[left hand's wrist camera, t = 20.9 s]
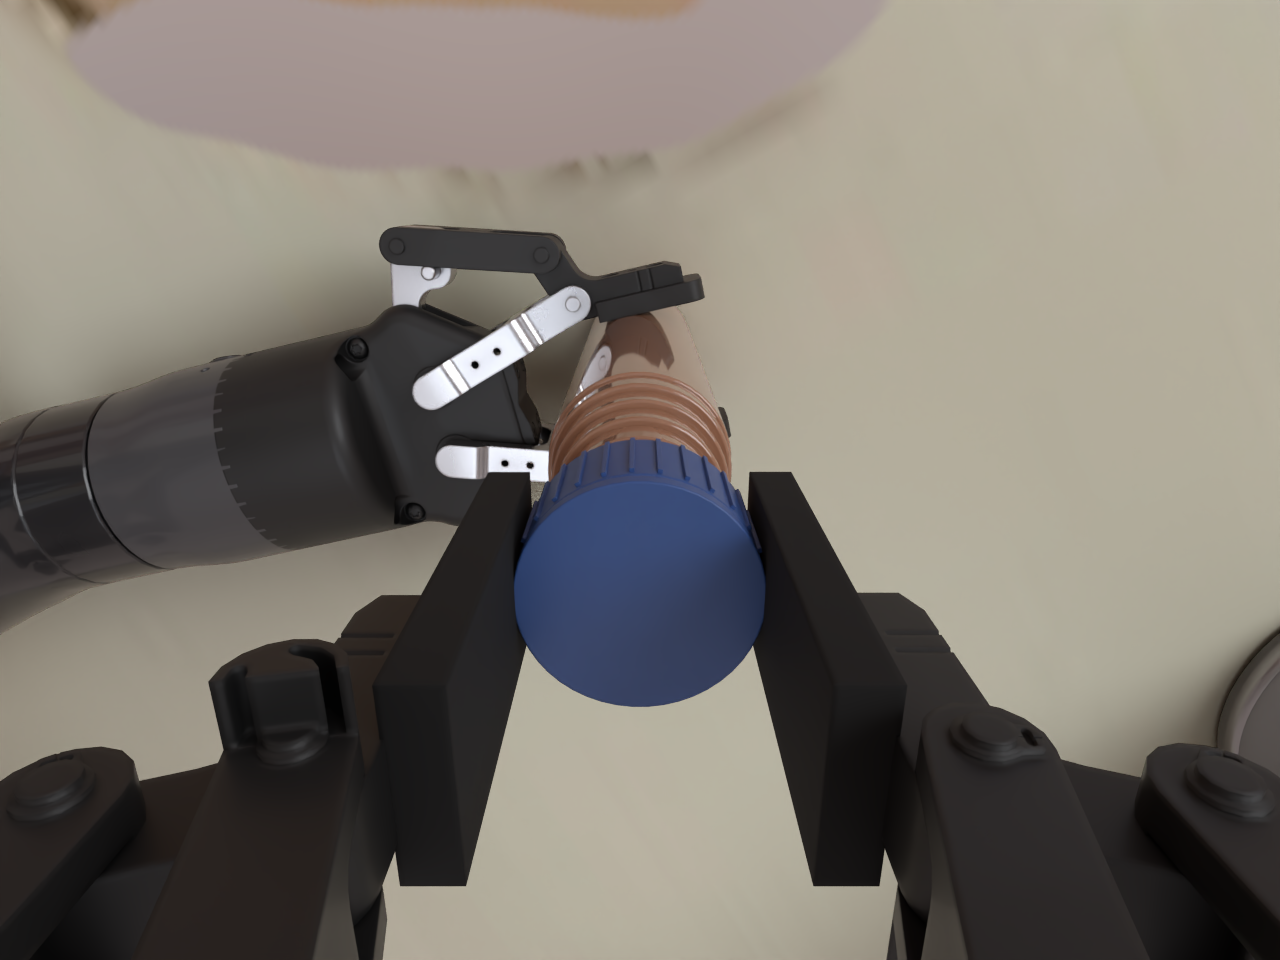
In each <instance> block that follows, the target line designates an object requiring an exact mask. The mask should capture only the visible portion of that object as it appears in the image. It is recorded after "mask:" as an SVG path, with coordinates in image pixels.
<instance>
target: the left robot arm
mask: <svg viewBox="0 0 1280 960" xmlns="http://www.w3.org/2000/svg"><path fill="white" fill-rule="evenodd" d="M531 510H532V502H531V483H530V472H488V474H487V475H486V477H485V479H484V481H483V483H482V485H481V486H480V488H479V490H478V492H477V494H476V496H475V497H474V499H473V501H472V503H471V505H470V507H469V508H468V510H467V512H466V514H465V516H464V518H463V519H462V521H461V523H460V525H459V527H458V529H457V530H456V532H455V534H454V536H453V538H452V540H451V541H450V543H449V545H448V547H447V549H446V551H445V552H444V554H443V556H442V558H441V560H440V562H439V563H438V565H437V567H436V569H435V571H434V573H433V574H432V576H431V578H430V580H429V582H428V584H427V585H426V587H425V589H424V591H423V593H422V595H381V596H380V597H378V598H377V599H375V600H374V601H372V602H371V603H369V604H368V605H366V606H365V607H363V608H362V609H361V610H359V611H358V612H356V613H355V614H354V616H353V617H352V619H351V620H350V622H349V623H348V625H347V626H346V627H345V629H344V630H343V632H342V633H341V638H338V639H337V641H336V642H335V644H334V643H330V642H326V641H322V640H318V639H293V640H287V641H282V642H277V643H272V644H267V645H264V646H262V647H259V648H256V649H254V650H251V651H248V652H246V653H243V654H241V655H240V656H238V657H236V658H235V659H233V660H232V661H230V662H228V663H227V664H225V665H224V666H222V667H221V668H220V669H219V670H218V671H217V672H216V674H215V675H214V676H213V677H212V678H211V679H210V680H209V687H210V691H211V696H212V700H213V705H214V709H215V713H216V718H217V722H218V727H219V731H220V736H221V740H222V744H223V749H224V751H223V753H222V755H221V758H220V760H219V762H218V763H216V764H213V765H209V766H205V767H202V768H198V769H194V770H189V771H185V772H180V773H175V774H171V775H166V776H161V777H156V778H152V779H147V780H142V781H139V779H138V775H137V772H136V768H135V764H134V761H133V760H132V759H131V758H130V757H129V756H128V755H127V754H125V753H124V752H123V751H122V750H117V749H111V748H106V747H93V748H83V749H74V750H70V751H65V752H61V753H60V754H54V755H51V756H48V757H45V758H42V759H40V760H38V761H37V762H34V763H32V764H30V765H28V766H26V767H24V768H22V769H20V770H17V771H15V772H13V773H12V774H10V775H9V776H7V777H6V778H5V779H3V780H2V781H0V960H382V959H383V951H384V942H385V933H386V924H387V915H386V907H385V900H384V893H383V887H382V885H383V882H384V879H385V877H386V874H387V871H388V869H389V866H390V863H391V861H392V858H393V855H394V853H396V860H397V867H398V874H399V882H400V886H466V884H467V880H468V876H469V872H470V868H471V864H472V860H473V856H474V852H475V848H476V844H477V840H478V836H479V832H480V828H481V824H482V820H483V816H484V812H485V808H486V804H487V800H488V796H489V792H490V788H491V784H492V780H493V776H494V772H495V768H496V765H497V761H498V757H499V753H500V749H501V745H502V741H503V737H504V733H505V729H506V725H507V721H508V717H509V713H510V709H511V705H512V701H513V697H514V693H515V689H516V685H517V681H518V677H519V673H520V669H521V665H522V661H523V657H524V653H525V649H526V643H525V641H524V639H523V637H522V635H521V633H520V630H519V627H518V625H517V622H516V611H515V596H514V574H515V570H516V565H517V562H518V559H519V556H520V553H521V550H522V547H523V544H524V543H522V542H521V539H522V536H523V533H524V530H525V527H526V524H527V522H528V519H529V516H530V513H531ZM748 511H749V513H750V516H751V519H752V522H753V525H754V528H755V531H756V534H757V537H758V540H759V542H760V545H761V548H762V551H763V552H762V553H759V555H760V557H761V560H762V564H763V568H764V572H765V576H766V587H765V604H764V618H763V623H762V626H761V629H760V632H759V634H758V636H757V638H756V640H755V642H754V644H753V647H754V651H755V655H756V659H757V663H758V667H759V671H760V675H761V679H762V683H763V687H764V691H765V695H766V699H767V703H768V707H769V711H770V715H771V719H772V723H773V727H774V731H775V735H776V739H777V743H778V747H779V751H780V754H781V758H782V762H783V766H784V770H785V774H786V778H787V782H788V786H789V790H790V794H791V798H792V802H793V806H794V810H795V814H796V818H797V822H798V826H799V830H800V834H801V838H802V842H803V846H804V850H805V854H806V858H807V862H808V866H809V870H810V874H811V878H812V882H813V886H879V885H880V878H881V871H882V864H883V856H884V849H885V850H886V853H887V855H888V858H889V861H890V863H891V866H892V869H893V871H894V874H895V877H896V879H897V882H898V887H897V893H896V900H895V907H894V913H893V920H892V926H891V933H890V940H889V946H888V953H887V960H1280V633H1279V634H1278V635H1277V636H1276V637H1274V638H1273V639H1272V640H1271V641H1270V642H1269V643H1268V644H1267V645H1266V646H1264V648H1263V649H1262V650H1261V651H1260V652H1259V653H1258V654H1257V655H1256V656H1255V657H1254V658H1253V659H1252V661H1251V662H1250V663H1249V664H1248V665H1247V667H1246V668H1245V669H1244V671H1243V672H1242V674H1241V675H1240V676H1239V678H1238V679H1237V681H1236V683H1235V684H1234V686H1233V688H1232V690H1231V692H1230V693H1229V696H1228V698H1227V700H1226V702H1225V705H1224V708H1223V711H1222V714H1221V717H1220V722H1219V727H1218V736H1217V748H1214V747H1209V746H1204V745H1193V744H1183V743H1177V744H1171V745H1166V746H1161V747H1158V748H1156V749H1155V750H1154V751H1153V752H1152V753H1151V754H1150V755H1149V756H1147V758H1146V762H1145V766H1144V769H1143V773H1142V776H1141V778H1140V777H1135V776H1130V775H1126V774H1121V773H1116V772H1111V771H1107V770H1102V769H1097V768H1092V767H1088V766H1083V765H1079V764H1076V763H1072V762H1069V761H1065V760H1062V759H1060V756H1059V754H1058V752H1057V750H1056V748H1055V747H1054V745H1053V744H1052V743H1051V741H1050V740H1049V739H1048V737H1047V736H1046V735H1045V733H1044V732H1042V731H1041V730H1039V729H1038V728H1037V727H1035V726H1034V725H1033V724H1031V723H1030V722H1028V721H1027V720H1026V719H1024V718H1022V717H1020V716H1017V715H1015V714H1013V713H1010V712H1008V711H1006V710H1004V709H1001V708H998V707H993V706H990V705H989V704H988V702H987V701H986V699H985V698H984V697H983V695H982V694H981V692H980V691H979V689H978V688H977V686H976V685H975V683H974V682H973V680H972V679H971V678H970V676H969V675H968V673H967V672H966V670H965V669H964V667H963V666H962V664H961V663H960V661H959V660H958V659H957V657H956V656H955V654H954V653H951V652H950V647H949V645H948V644H947V643H946V641H945V640H944V638H943V637H942V635H939V631H938V629H937V628H936V626H935V625H934V624H933V622H932V621H931V619H930V618H929V616H928V615H927V613H926V612H925V610H923V609H922V608H920V607H919V606H917V605H916V604H914V603H913V602H911V601H910V600H908V599H907V598H905V597H904V596H902V595H901V594H899V593H857V592H856V590H855V588H854V586H853V585H852V583H851V581H850V579H849V577H848V575H847V574H846V572H845V570H844V568H843V566H842V564H841V563H840V561H839V559H838V557H837V555H836V553H835V552H834V550H833V548H832V546H831V544H830V542H829V541H828V539H827V537H826V535H825V533H824V531H823V530H822V528H821V526H820V524H819V522H818V520H817V519H816V517H815V515H814V513H813V511H812V509H811V508H810V506H809V504H808V502H807V500H806V498H805V497H804V495H803V493H802V491H801V489H800V487H799V486H798V484H797V482H796V480H795V478H794V476H793V475H792V473H791V472H750V473H749V493H748Z"/></svg>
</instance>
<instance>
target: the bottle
mask: <svg viewBox="0 0 1280 960" xmlns="http://www.w3.org/2000/svg"><path fill="white" fill-rule="evenodd" d="M632 437H635V440H654V441H656V438H657V439H661V441H662V442H666V443H670V444H674V445H677V446H680V445H681V444H682V445H684V446H685V448H686V449H688V450H690V451H692V452H694V453H696V454H697V455H699V456H701V457H703V455H704V456H706V457H707V458H708V462H710V463H711V464H712V465H714V466H715V467H716V468H717V469H718V470H719V471H720V472H722V471H724V472H725V473H726V475H727V478H728V481H729V482H731V473H732V464H731V448H730V441H729V438H728V434H727V431H726V428H725V425H724V422H723V420H722V417H721V414H720V412H719V409H718V406H717V403H716V401H715V398H714V395H713V393H712V390H711V387H710V384H709V382H708V379H707V376H706V374H705V371H704V368H703V365H702V363H701V360H700V357H699V355H698V352H697V349H696V346H695V344H694V341H693V338H692V336H691V333H690V330H689V327H688V325H687V322H686V320H685V318H684V316H683V315H682V313H681V312H680V310H679V309H678V308H677V307H676V306H673V307H668V308H664V309H660V310H655V311H651V312H647V313H642V314H638V315H634V316H628V317H623V318H620V319H616V320H612V321H608V322H603V323H600V322H599V318H598V317H596V318H595V319H594V322H593V324H592V327H591V330H590V332H589V335H588V338H587V341H586V343H585V346H584V349H583V351H582V354H581V357H580V359H579V362H578V365H577V368H576V370H575V373H574V376H573V378H572V381H571V384H570V387H569V389H568V392H567V395H566V397H565V400H564V403H563V406H562V408H561V411H560V414H559V416H558V419H557V422H556V425H555V427H554V430H553V433H552V436H551V440H550V445H549V456H548V460H549V461H548V478H549V482H551V480H552V479H553V478H554V476H555V475H556V474H558V473H559V472H560V469H561V466H562V465H563V464H564V463H565V464H566V465H567V464H569V463H570V462H571V461H573V460H574V459H575V458H577V457H579V456H580V455H581V452H582V451H584V450H586V452H588V451H590V450H592V449H595V448H597V447H600V446H602V445H605V442H608V441H610V443H613V442H618V441H625V440H630V438H632Z"/></svg>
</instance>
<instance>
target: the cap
mask: <svg viewBox="0 0 1280 960" xmlns="http://www.w3.org/2000/svg"><path fill="white" fill-rule="evenodd" d="M521 542H522V543H524V544H523V547H522V550H521V553H520V556H519V559H518V562H517V565H516V570H515V574H514V596H515V611H516V622H517V625H518V627H519V630H520V633H521V635H522V637H523V639H524V641H525V643H526V645H527V647H528V648H529V650H530V651H531V653H532V654H533V656H534V657H535V658H536V660H537V661H538V662H539V663H540V664H541V665H542V666H543V667H544V668H545V669H546V671H547V672H548V673H550V674H551V675H552V676H553V677H555V678H556V679H557V680H558V681H560V682H561V683H563V684H564V685H566V686H567V687H569V688H570V689H572V690H574V691H576V692H578V693H580V694H582V695H584V696H587V697H589V698H592V699H595V700H598V701H601V702H605V703H610V704H614V705H621V706H630V707H650V706H658V705H665V704H670V703H674V702H679V701H682V700H684V699H687V698H690V697H693V696H695V695H697V694H699V693H701V692H704V691H706V690H708V689H709V688H711V687H712V686H714V685H715V684H717V683H719V682H720V681H721V680H723V679H724V678H725V677H726V676H727V675H729V674H730V673H731V672H732V671H733V670H734V669H735V668H736V667H737V666H738V665H739V664H740V663H741V662H742V660H743V659H744V658H745V656H746V655H747V653H748V652H749V651H750V649H751V648H752V646H753V644H754V642H755V640H756V638H757V636H758V634H759V632H760V629H761V626H762V623H763V618H764V604H765V587H766V576H765V572H764V568H763V564H762V560H761V557H760V555H759V553H762V552H763V551H762V548H761V545H760V542H759V540H758V537H757V534H756V531H755V528H754V525H753V522H752V519H751V516H750V513H749V511H748V510H746V508H745V505H744V502H743V499H742V496H741V493H740V491H739V489H737V490H735V489H734V487H733V486H732V485H731V483H730V482H729V481H728V478H727V475H726V473H725V472H724V471H722V472H720V471H719V470H718V469H717V468H716V467H715V466H714V465H712V464H711V463H710V462H708V458H707V457H706V456H704V455H703V457H701V456H699V455H697V454H696V453H694V452H692V451H690V450H688V449H686V448H685V446H684V445H682V444H681V445H680V446H677V445H674V444H670V443H666V442H662V441H661V439H657V438H656V441H654V440H635V437H632V438H630V440H625V441H618V442H613V443H610V441H608V442H605V445H602V446H600V447H597V448H595V449H592V450H590V451H588V452H586V450H584V451H582V452H581V455H580V456H579V457H577V458H575V459H574V460H573V461H571V462H570V463H569V464H567V465H566V464H565V463H564V464H563V465H562V466H561V469H560V472H559V473H558V474H556V475H555V476H554V478H553V479H552V480H551V482H549V481H547V482H546V483H545V485H544V488H543V491H542V494H541V497H540V499H539V501H535V502H534V504H533V507H532V510H531V513H530V516H529V519H528V522H527V524H526V527H525V530H524V533H523V536H522V539H521Z"/></svg>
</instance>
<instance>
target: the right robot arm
mask: <svg viewBox="0 0 1280 960" xmlns="http://www.w3.org/2000/svg"><path fill="white" fill-rule="evenodd" d="M379 248H380V251H381V254H382V255H383V257H384V258H385V259H386V260H387V261H388V262H390V263H391V281H392V302H393V307H390V308H388V309H387V310H385V311H384V312H383V313H382V314H381V315H380V316H379V317H378V318H377V319H376V320H375V321H374V322H373V323H371V324H370V325H367V326H364V327H360V328H356V329H352V330H348V331H344V332H339V333H335V334H331V335H327V336H322V337H318V338H314V339H310V340H305V341H301V342H297V343H293V344H289V345H284V346H280V347H276V348H271V349H267V350H263V351H259V352H255V353H250V354H246V355H232V356H225V357H220V358H216V359H214V360H213V361H211V362H209V363H208V364H204V365H199V366H195V367H191V368H187V369H183V370H179V371H176V372H172V373H170V374H167V375H164V376H162V377H159V378H157V379H154V380H152V381H150V382H147V383H145V384H142V385H139V386H137V387H134V388H130V389H127V390H124V391H120V392H116V393H112V394H107V395H103V396H99V397H95V398H90V399H86V400H82V401H78V402H73V403H69V404H65V405H61V406H55V407H51V408H47V409H43V410H39V411H35V412H31V413H27V414H24V415H20V416H17V417H15V418H12V419H9V420H7V421H5V422H3V423H1V424H0V634H2V633H4V632H6V631H7V630H9V629H11V628H12V627H14V626H16V625H18V624H19V623H21V622H23V621H25V620H26V619H28V618H30V617H32V616H34V615H35V614H37V613H39V612H41V611H43V610H45V609H47V608H49V607H51V606H53V605H55V604H58V603H60V602H62V601H64V600H66V599H68V598H70V597H72V596H74V595H76V594H78V593H80V592H82V591H84V590H86V589H89V588H92V587H95V586H99V585H104V584H108V583H112V582H117V581H122V580H126V579H131V578H136V577H140V576H145V575H150V574H154V573H159V572H164V571H168V570H173V569H176V568H184V567H190V566H203V565H218V564H228V563H236V562H242V561H247V560H252V559H256V558H261V557H266V556H271V555H275V554H280V553H285V552H289V551H294V550H299V549H304V548H308V547H313V546H317V545H322V544H327V543H332V542H336V541H341V540H346V539H350V538H355V537H360V536H364V535H369V534H374V533H378V532H383V531H388V530H392V529H397V528H402V527H406V526H409V525H413V524H417V523H420V522H425V521H436V522H443V523H447V524H450V525H454V526H459V525H460V523H461V521H462V519H463V518H464V516H465V514H466V512H467V510H468V508H469V507H470V505H471V503H472V501H473V499H474V497H475V496H476V494H477V492H478V490H479V488H480V486H481V485H482V483H483V481H484V479H485V477H486V475H487V474H488V472H530V481H534V482H547V481H549V478H548V461H549V460H548V456H549V445H550V440H551V436H552V433H553V430H554V427H555V425H556V424H547V423H541V422H540V418H539V415H538V411H537V409H536V407H535V405H534V404H533V402H532V400H531V399H530V397H529V395H528V393H527V391H526V368H525V365H524V361H523V358H522V357H524V356H526V355H527V354H529V353H530V352H532V351H533V350H535V349H536V348H537V347H539V346H540V345H541V344H543V343H545V342H546V341H548V340H550V339H551V338H553V337H554V336H556V335H558V334H559V333H561V332H563V331H564V330H566V329H568V328H569V327H571V326H573V325H574V324H576V323H578V322H579V321H582V320H586V319H590V318H595V317H598V318H599V322H600V323H603V322H608V321H612V320H616V319H620V318H623V317H628V316H634V315H638V314H642V313H647V312H651V311H655V310H660V309H664V308H668V307H673V306H677V305H681V304H686V303H690V302H694V301H698V300H701V299H703V298H705V296H704V291H703V286H702V281H701V277H700V276H699V274H690V275H685V276H682V271H681V266H680V265H679V263H673V262H667V261H662V262H657V263H653V264H649V265H645V266H641V267H637V268H632V269H628V270H624V271H619V272H615V273H611V274H607V275H602V276H589V275H587V274H585V273H583V272H582V271H580V270H579V268H578V267H577V266H576V264H575V263H574V261H573V260H572V258H571V257H570V255H569V254H568V252H567V251H566V246H565V244H564V242H563V240H562V239H561V238H560V237H559V236H557V235H556V234H553V233H541V232H525V231H509V230H493V229H477V228H461V227H445V226H428V225H408V226H399V227H393V228H389V229H387V230H386V231H385V232H384V233H383V234H382V235H381V237H380V241H379ZM457 269H469V270H486V271H502V272H518V273H534V274H535V276H536V277H537V279H538V280H539V282H540V283H541V285H542V286H543V288H544V289H545V291H546V292H547V294H548V295H546V296H545V297H543V298H541V299H540V300H538V301H537V302H535V303H533V304H532V305H530V306H528V307H526V308H524V309H522V310H521V311H519V312H518V313H516V314H514V315H513V316H511V317H509V318H508V319H506V320H505V321H503V322H501V323H500V324H498V325H496V326H495V327H493V328H491V329H490V330H488V329H485V328H483V327H481V326H478V325H476V324H473V323H471V322H469V321H466V320H464V319H461V318H459V317H457V316H454V315H452V314H449V313H447V312H445V311H442V310H440V309H437V308H435V307H433V306H430V305H428V304H425V300H426V296H427V294H428V293H429V291H430V290H432V289H439V288H442V287H444V286H446V285H448V284H450V283H451V282H452V281H453V280H454V279H455V276H456V273H457ZM718 409H719V412H720V414H721V417H722V420H723V422H724V425H725V428H726V431H727V434H728V438H729V437H730V436H731V433H730V428H729V422H728V417H727V415H726V412H725V410H724V408H722V407H718ZM540 438H541V439H542V441H541V440H540ZM530 462H532V463H533V464H530Z"/></svg>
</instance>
